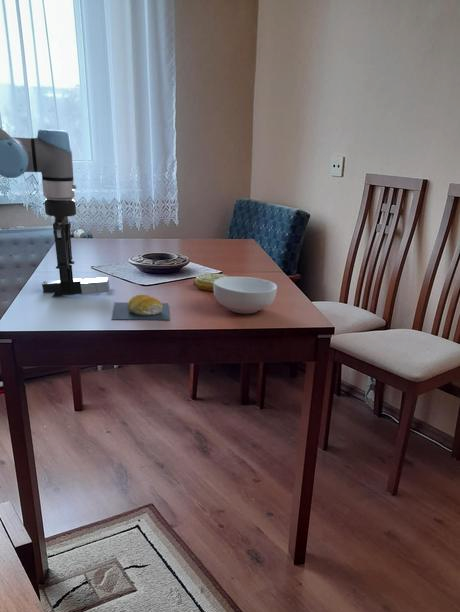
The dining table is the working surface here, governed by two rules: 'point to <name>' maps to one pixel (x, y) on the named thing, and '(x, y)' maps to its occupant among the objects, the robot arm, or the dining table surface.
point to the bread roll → (144, 305)
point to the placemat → (124, 314)
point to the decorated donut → (207, 280)
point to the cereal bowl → (244, 293)
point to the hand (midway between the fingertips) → (67, 290)
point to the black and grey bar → (78, 286)
